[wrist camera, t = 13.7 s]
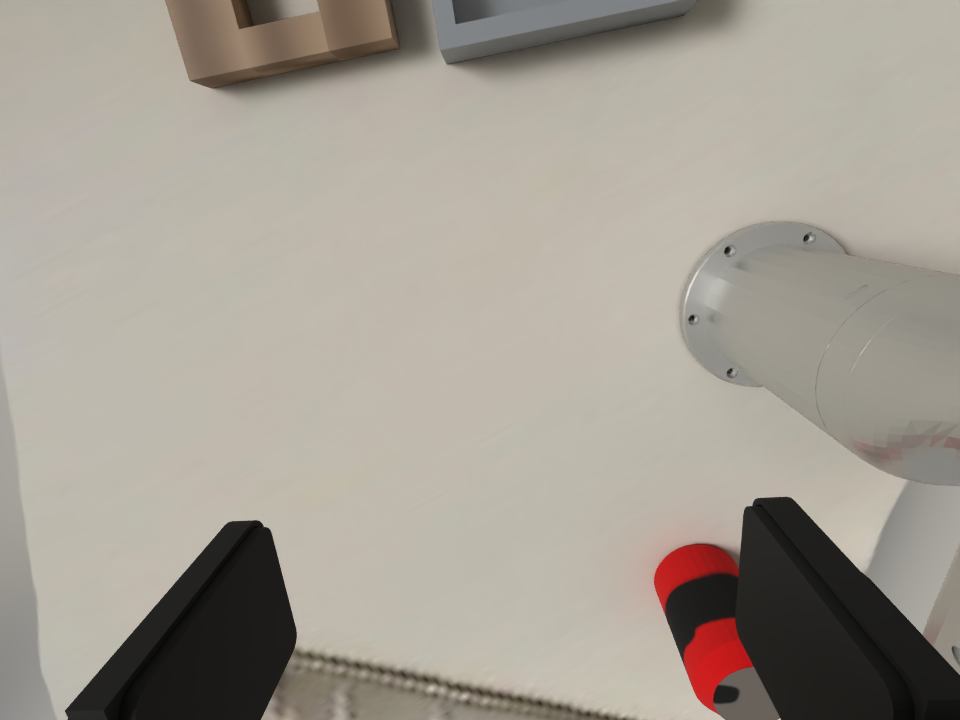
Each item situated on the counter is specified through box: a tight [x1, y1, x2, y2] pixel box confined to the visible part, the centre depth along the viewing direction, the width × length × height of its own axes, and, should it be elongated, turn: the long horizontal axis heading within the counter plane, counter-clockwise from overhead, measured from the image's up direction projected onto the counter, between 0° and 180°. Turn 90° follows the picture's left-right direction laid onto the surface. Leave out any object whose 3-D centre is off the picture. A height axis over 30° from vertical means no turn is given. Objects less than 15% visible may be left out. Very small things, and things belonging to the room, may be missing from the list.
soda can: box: [654, 545, 780, 720], centre depth 41 cm, size 8×8×12 cm
